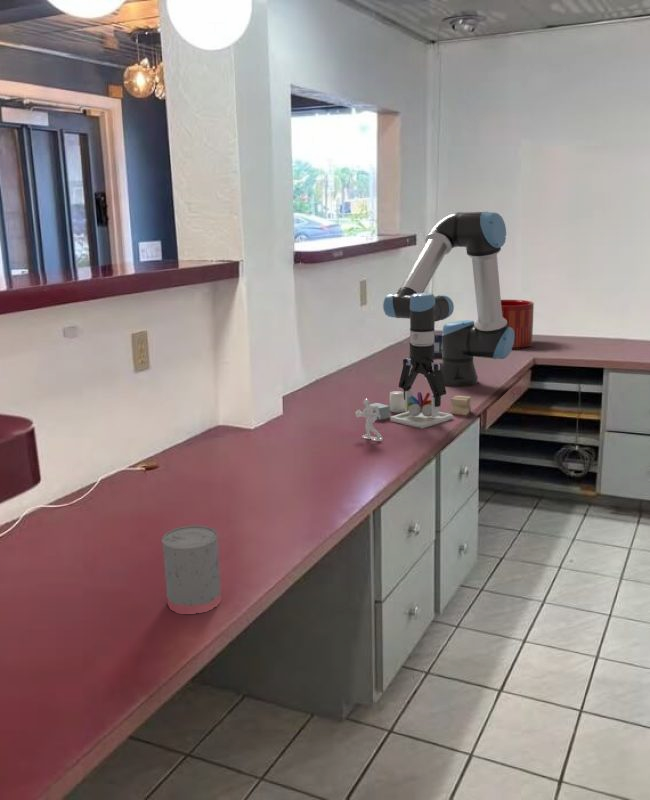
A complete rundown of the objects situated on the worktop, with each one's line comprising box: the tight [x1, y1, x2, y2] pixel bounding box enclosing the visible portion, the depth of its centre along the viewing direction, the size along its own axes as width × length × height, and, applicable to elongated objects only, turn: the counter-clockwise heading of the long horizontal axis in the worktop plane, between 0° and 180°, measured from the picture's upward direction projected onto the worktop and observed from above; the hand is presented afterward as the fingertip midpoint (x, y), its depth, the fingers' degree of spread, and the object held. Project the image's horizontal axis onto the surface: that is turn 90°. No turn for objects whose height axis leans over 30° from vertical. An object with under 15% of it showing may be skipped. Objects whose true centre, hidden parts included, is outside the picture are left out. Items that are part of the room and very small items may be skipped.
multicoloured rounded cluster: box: [407, 391, 432, 417], centre depth 247 cm, size 8×10×7 cm
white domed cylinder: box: [389, 390, 406, 414], centre depth 259 cm, size 5×5×6 cm
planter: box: [501, 299, 535, 350], centre depth 367 cm, size 23×23×20 cm
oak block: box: [450, 395, 472, 416], centre depth 255 cm, size 5×5×5 cm
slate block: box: [369, 402, 391, 421], centre depth 253 cm, size 4×6×4 cm, turn 37°
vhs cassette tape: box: [409, 334, 442, 359], centre depth 345 cm, size 18×3×10 cm, turn 83°
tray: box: [390, 411, 454, 430], centre depth 248 cm, size 15×13×1 cm
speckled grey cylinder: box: [161, 525, 222, 606], centre depth 137 cm, size 10×10×12 cm
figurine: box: [354, 398, 384, 442], centre depth 229 cm, size 5×9×12 cm, turn 58°
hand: (421, 413), depth 248 cm, fingers closed on multicoloured rounded cluster, 10 cm apart
